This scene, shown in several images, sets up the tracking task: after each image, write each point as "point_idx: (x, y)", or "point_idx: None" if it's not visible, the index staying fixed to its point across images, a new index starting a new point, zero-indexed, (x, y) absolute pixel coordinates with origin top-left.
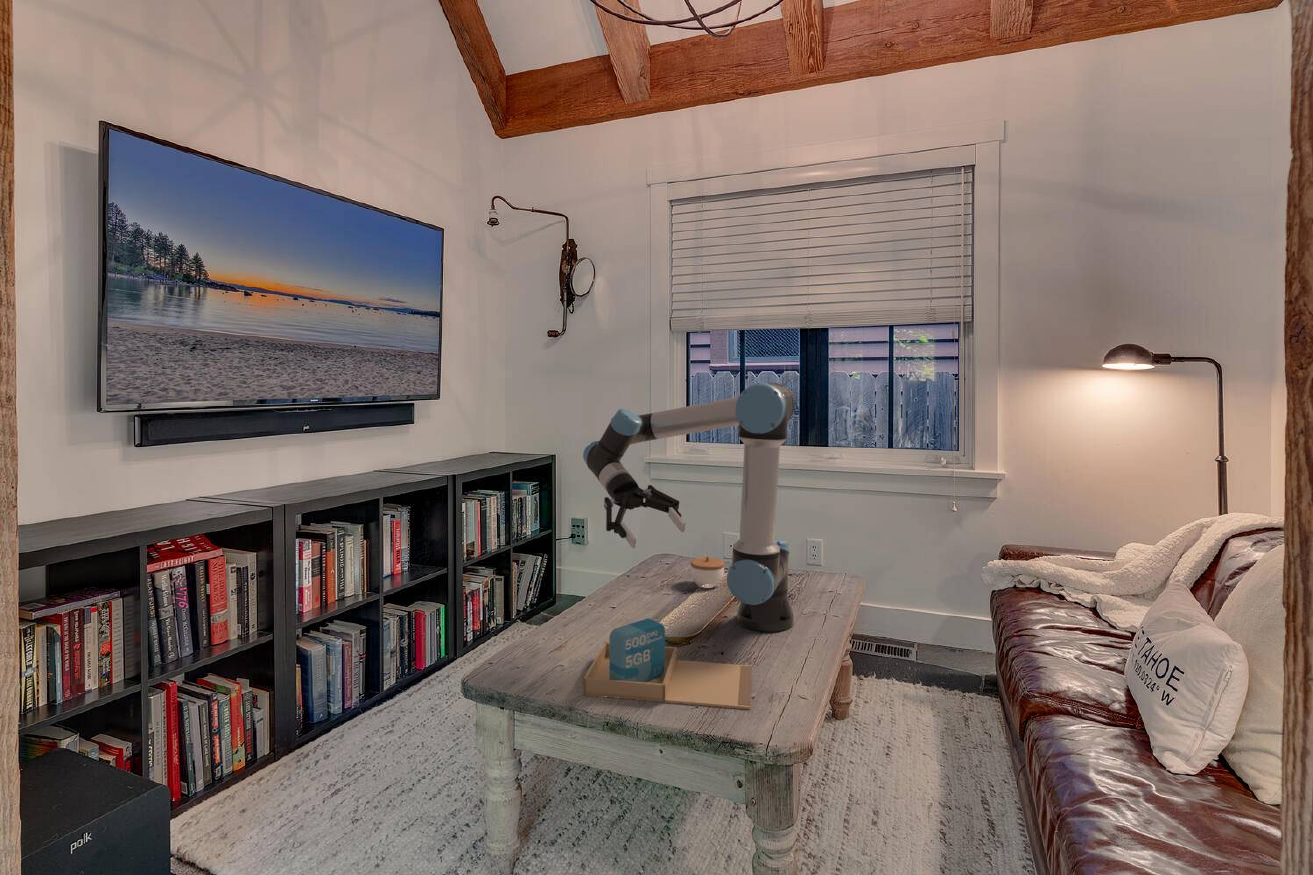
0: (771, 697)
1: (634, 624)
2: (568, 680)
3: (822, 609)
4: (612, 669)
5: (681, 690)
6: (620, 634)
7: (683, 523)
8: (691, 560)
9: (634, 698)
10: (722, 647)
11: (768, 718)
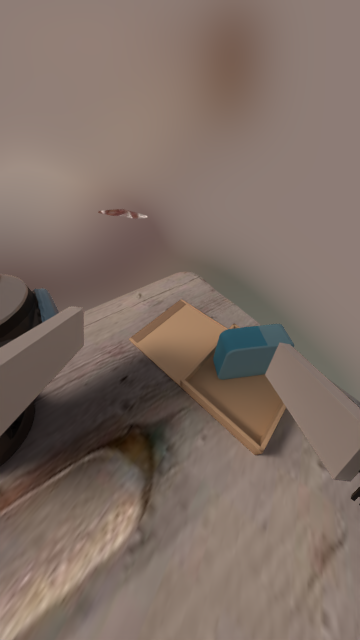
0: (157, 303)
1: (260, 341)
2: None
3: None
4: None
5: (211, 335)
6: (284, 330)
7: (78, 308)
8: None
9: None
10: (111, 390)
11: (179, 290)
